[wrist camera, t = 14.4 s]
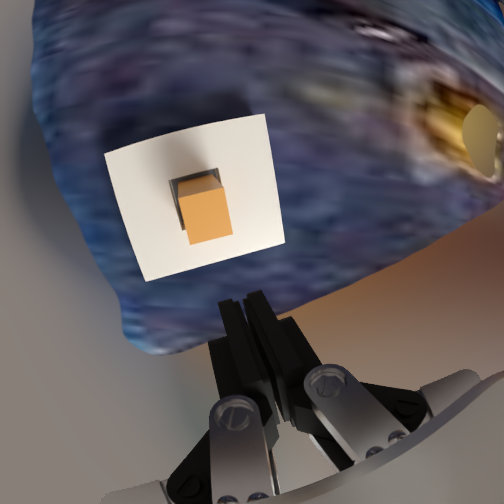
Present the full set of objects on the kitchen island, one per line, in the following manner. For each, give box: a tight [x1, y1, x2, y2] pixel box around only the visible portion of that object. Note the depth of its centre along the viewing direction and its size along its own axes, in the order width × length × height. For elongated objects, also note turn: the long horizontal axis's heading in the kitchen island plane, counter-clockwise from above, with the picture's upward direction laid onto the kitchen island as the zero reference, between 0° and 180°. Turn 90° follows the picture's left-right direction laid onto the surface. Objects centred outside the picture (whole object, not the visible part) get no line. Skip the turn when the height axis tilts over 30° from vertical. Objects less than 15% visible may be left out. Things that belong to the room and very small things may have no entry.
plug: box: [178, 174, 233, 245], centre depth 28 cm, size 4×4×10 cm
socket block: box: [104, 114, 285, 281], centre depth 32 cm, size 16×18×4 cm
